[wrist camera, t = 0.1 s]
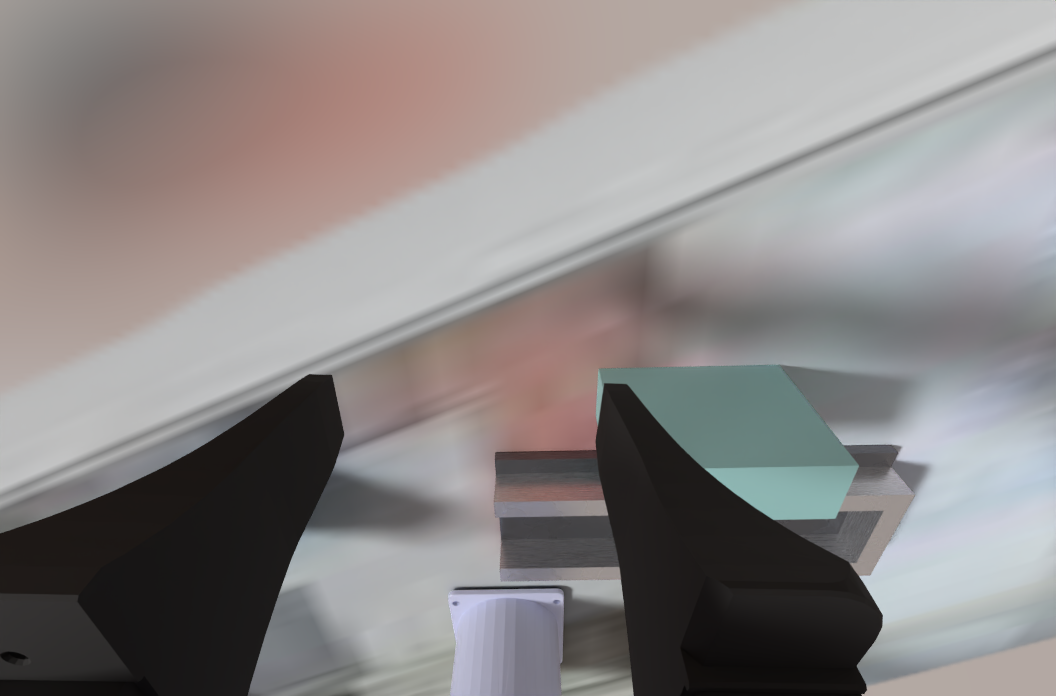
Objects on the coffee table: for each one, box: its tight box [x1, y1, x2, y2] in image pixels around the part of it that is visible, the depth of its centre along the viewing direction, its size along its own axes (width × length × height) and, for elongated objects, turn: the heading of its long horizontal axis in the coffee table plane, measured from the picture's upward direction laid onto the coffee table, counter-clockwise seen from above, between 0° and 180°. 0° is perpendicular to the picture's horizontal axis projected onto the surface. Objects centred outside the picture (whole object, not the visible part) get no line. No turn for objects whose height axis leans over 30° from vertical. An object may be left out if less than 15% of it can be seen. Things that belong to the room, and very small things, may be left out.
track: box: [494, 445, 915, 581], centre depth 29 cm, size 9×22×3 cm, turn 91°
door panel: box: [596, 365, 859, 520], centre depth 22 cm, size 3×9×7 cm, turn 91°
